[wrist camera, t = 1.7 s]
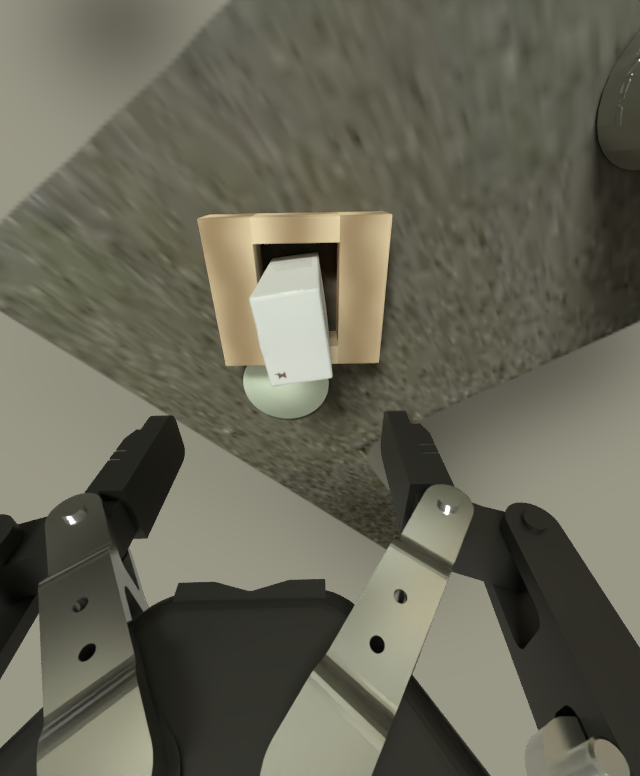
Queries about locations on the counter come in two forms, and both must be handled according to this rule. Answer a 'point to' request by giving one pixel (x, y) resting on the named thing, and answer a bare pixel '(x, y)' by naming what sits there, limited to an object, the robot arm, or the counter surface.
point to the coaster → (283, 394)
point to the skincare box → (292, 320)
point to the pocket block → (349, 229)
